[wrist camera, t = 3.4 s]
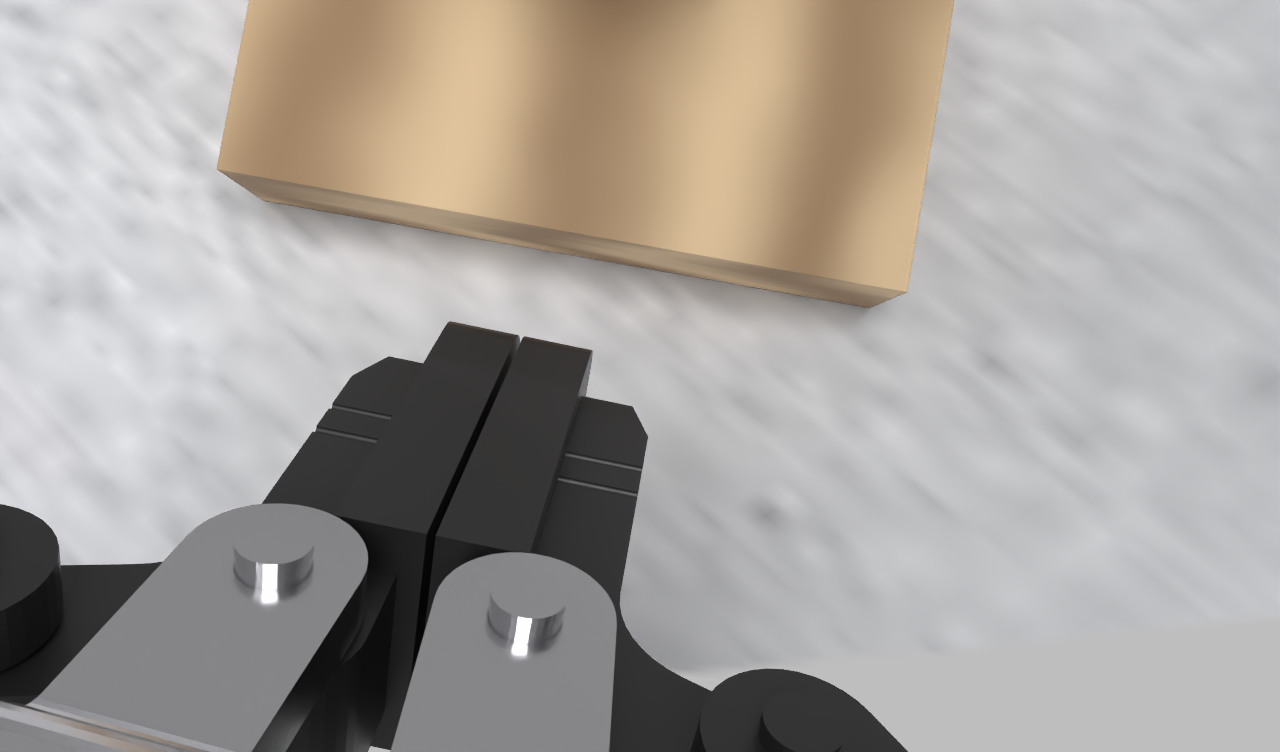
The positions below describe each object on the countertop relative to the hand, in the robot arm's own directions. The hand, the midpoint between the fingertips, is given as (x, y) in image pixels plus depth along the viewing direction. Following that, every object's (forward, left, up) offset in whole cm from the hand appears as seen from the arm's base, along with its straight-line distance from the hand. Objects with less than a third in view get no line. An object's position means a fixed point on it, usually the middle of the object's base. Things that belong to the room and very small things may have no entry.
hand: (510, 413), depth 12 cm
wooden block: (+1, -10, -21) cm, 23 cm away
